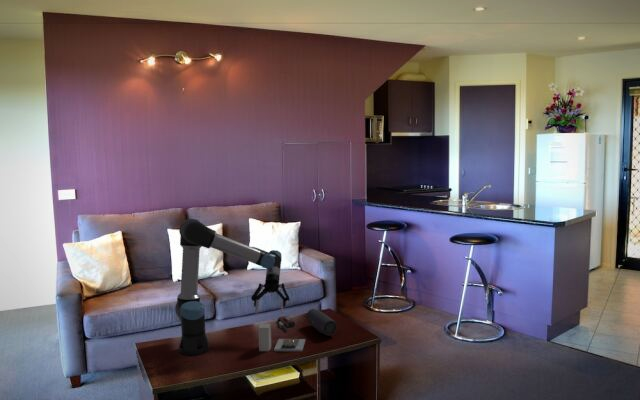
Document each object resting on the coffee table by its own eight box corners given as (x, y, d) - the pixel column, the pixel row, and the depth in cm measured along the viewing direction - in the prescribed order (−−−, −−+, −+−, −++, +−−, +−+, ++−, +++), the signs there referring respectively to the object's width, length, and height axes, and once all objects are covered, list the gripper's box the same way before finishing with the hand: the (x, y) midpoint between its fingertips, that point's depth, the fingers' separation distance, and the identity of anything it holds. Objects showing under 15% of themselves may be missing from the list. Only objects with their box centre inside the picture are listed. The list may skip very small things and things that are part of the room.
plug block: (259, 351, 262) (258, 327, 260) (261, 346, 268) (260, 323, 266) (269, 351, 261) (268, 327, 260) (271, 346, 267) (270, 323, 266)
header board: (274, 351, 261) (274, 349, 261) (278, 340, 275) (278, 338, 275) (302, 351, 260) (302, 349, 260) (305, 341, 274) (305, 338, 273)
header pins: (281, 348, 262) (281, 340, 261) (282, 346, 263) (281, 339, 263) (295, 348, 261) (295, 340, 261) (295, 347, 263) (295, 339, 262)
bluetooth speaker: (305, 326, 296) (304, 309, 295) (320, 323, 300) (319, 306, 299) (322, 339, 276) (321, 320, 275) (338, 336, 279) (337, 318, 278)
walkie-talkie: (273, 322, 305) (285, 333, 287) (273, 315, 305) (285, 325, 286) (288, 320, 308) (300, 330, 290) (287, 312, 308) (300, 323, 290)
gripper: (296, 280, 289) (293, 315, 276) (251, 280, 291) (246, 315, 278) (294, 272, 283) (291, 308, 270) (249, 273, 285) (244, 308, 272)
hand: (268, 312), depth 274 cm, fingers open, 13 cm apart
